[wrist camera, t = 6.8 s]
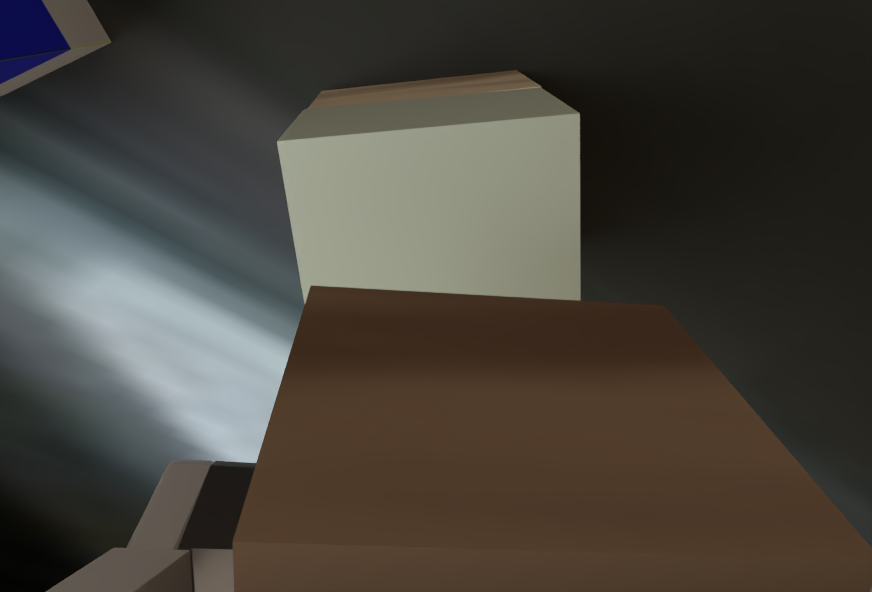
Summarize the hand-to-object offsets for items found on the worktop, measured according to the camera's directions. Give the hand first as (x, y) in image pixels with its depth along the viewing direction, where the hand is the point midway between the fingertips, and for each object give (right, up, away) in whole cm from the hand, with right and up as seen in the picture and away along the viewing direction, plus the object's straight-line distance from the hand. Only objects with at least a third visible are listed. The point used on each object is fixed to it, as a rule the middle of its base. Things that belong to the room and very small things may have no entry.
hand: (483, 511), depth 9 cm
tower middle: (-1, +5, +13) cm, 14 cm away
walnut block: (0, +1, +1) cm, 2 cm away
